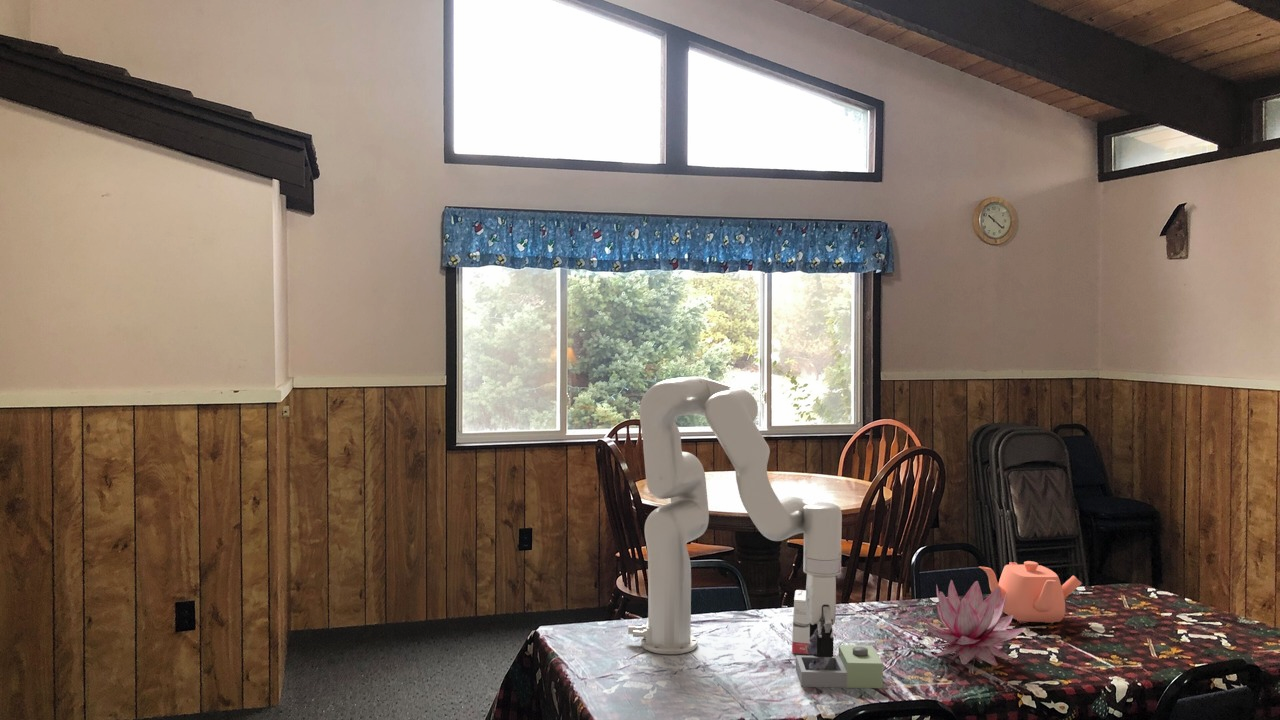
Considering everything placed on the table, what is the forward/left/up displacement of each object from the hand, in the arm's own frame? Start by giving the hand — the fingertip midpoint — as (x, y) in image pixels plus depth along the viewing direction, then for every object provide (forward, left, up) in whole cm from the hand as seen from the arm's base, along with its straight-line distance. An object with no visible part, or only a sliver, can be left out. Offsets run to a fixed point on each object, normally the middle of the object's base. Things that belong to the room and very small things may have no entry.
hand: (821, 647), depth 189 cm
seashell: (0, +1, -6) cm, 6 cm away
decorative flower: (+34, +14, -6) cm, 37 cm away
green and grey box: (+4, 0, -6) cm, 7 cm away
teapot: (+57, +41, -6) cm, 70 cm away
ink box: (-1, +18, -6) cm, 19 cm away
